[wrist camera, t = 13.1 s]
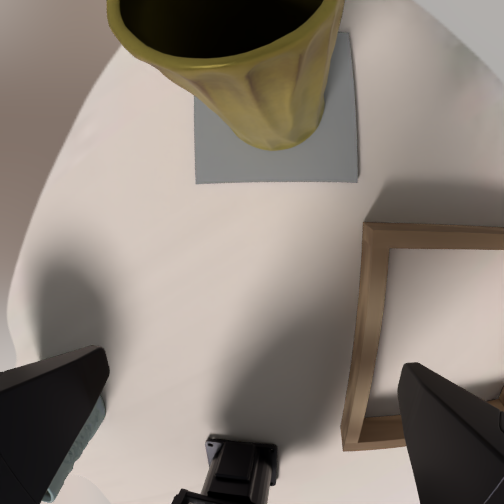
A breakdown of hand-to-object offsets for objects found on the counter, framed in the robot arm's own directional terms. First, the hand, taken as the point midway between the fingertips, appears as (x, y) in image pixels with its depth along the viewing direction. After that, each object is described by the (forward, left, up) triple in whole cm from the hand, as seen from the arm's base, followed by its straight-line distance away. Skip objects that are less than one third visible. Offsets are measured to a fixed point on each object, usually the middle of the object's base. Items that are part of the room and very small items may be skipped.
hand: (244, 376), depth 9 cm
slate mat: (+10, 0, -13) cm, 16 cm away
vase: (+10, 0, -12) cm, 16 cm away
